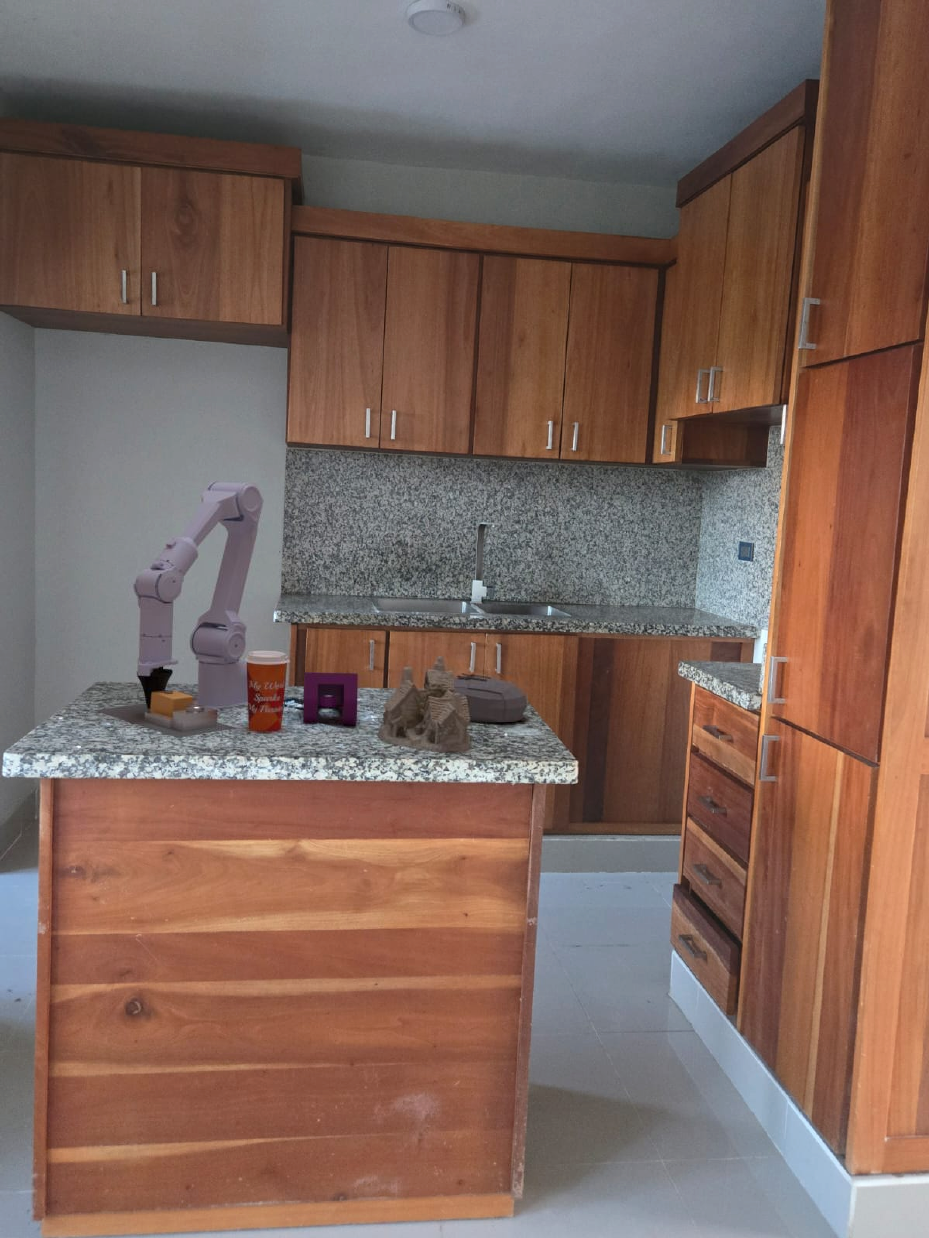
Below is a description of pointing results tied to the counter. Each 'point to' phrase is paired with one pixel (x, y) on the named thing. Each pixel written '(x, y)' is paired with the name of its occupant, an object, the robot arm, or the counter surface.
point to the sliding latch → (186, 718)
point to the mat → (138, 717)
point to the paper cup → (266, 689)
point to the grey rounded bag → (490, 698)
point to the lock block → (169, 702)
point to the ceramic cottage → (427, 713)
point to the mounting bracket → (330, 695)
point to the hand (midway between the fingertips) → (153, 708)
